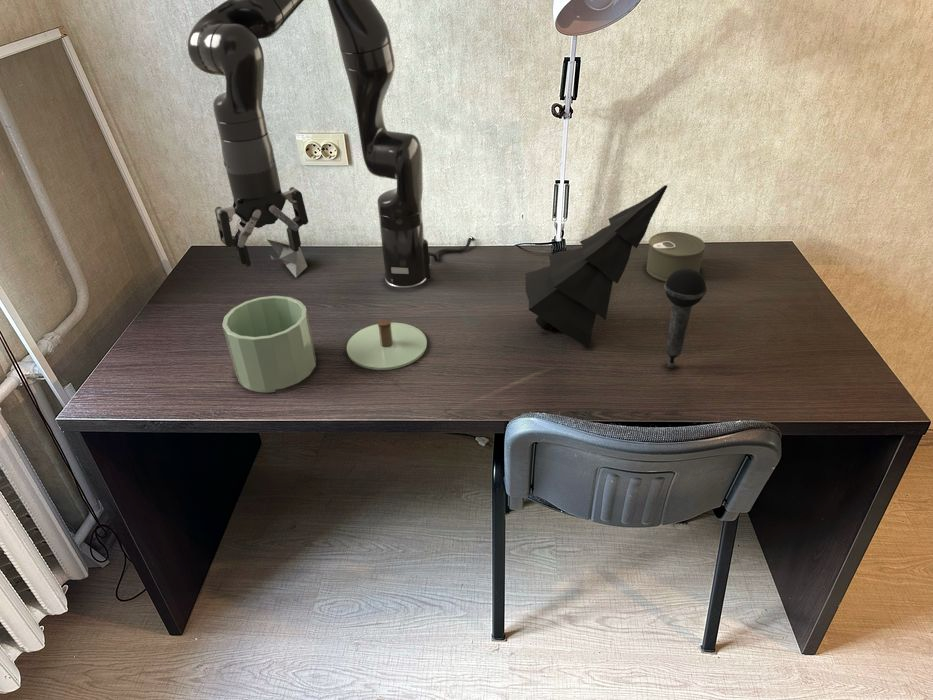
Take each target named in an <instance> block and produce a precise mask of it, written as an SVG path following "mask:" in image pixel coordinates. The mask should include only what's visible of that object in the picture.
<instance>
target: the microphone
mask: <svg viewBox="0 0 933 700" xmlns="http://www.w3.org/2000/svg"><path fill="white" fill-rule="evenodd" d="M663 288H664V292H665V295H666V297H667V300H668V301H670V302H671V303H672V305H671V310H670V318H669V326H668V333H667V341H666V347H665V353H666V354H667V355H668V357H669V361H668V362H667V365H666V366H667V368H668V369H674V368H675V367H676V363H675V358H678V357H679V356H681V354H682V351H683V346H684V341H685V337H686V335H687V334H686V333H687V329H688V324H689V320H690V318H691V317H690V316H691V311H692V308H693V307H694V306H695V305H697V304H698V303H700V302H701V300H703V298H704V296H705V295H706V293H707V292H708V291H707V284H706V281H705V278H704V276H703V275H702V274H701V273H700V272H697V271H696V270H693V269H689V268H682V269H679V270H676V271H675V272H673V273H672V274H671V275H670V276H669V277H668V279H667V281H664V285H663Z"/></svg>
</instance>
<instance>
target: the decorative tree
mask: <svg viewBox="0 0 933 700" xmlns="http://www.w3.org/2000/svg"><path fill="white" fill-rule="evenodd" d="M667 188H668V185H667V184H665V185H663V186H662V187H660V188H659V189H658V190H656V191H655V192H654V193H653V194H651V195H650V196H648V197H647V198H644V199H643V200H641V201H639V202H638V203H636V204H634V205H632V206H629V207H628V208H625V209H623V210H621V211H619V212H618V213H616V214H614V215H613V216H611V217H610V218H608V222H609V225H607V226H605V227H603V228H601V229H599V230H598V231H597V232H595V233H594V234H592V235H591V236H588V237H587V238H584V239H582V240H580V241H579V243H580V245H581V247H578V248H573V249H567V250H560V251H557V252H555V253H552V254H550V255H548V258H549V265H550V266H544V267H541V268H539V269H536V270H532V271H528V272H525V294H526V297H527V300H528V311H530V312H531V313H532V314H534V315H536V316H537V317H536V318H535V322H536V324H537V325H538V327H540V328H541V329H542V330H544V331H547V332H549V331H551V330H552V329H553V328H555V329H557V330H558V331H560V332H562V333H563V334H564V335H566V336H568V337H569V338H570V339H573V340H574V341H576V342H577V343H578V344H580V345H582V346H584V347H586V348H588V349H590V344H591V337H592V333H593V328H594V324H595V322H596V317H597V316H599V317H600V318H601V319H603V320H604V321H606V320H607V314H608V310H609V303H610V299H611V294H612V290H613V289H612V288H613V283H615V284H618V283H619V282H620V280H621V278H622V276H623V274H624V272H625V271H626V268H627V265H628V262H629V260H630V257H631V253H632V248H635V249H637V248H638V247H639V245H640V243H641V242H642V240H643V238H644V236H645V235H646V233H647V230H648V227H649V225H650V223H651V220H652V217H654V214H655V212H656V210H657V208H658V206H659V204H660V202H661V200H662V198H663V196H664V194H665V193H666V191H667Z"/></svg>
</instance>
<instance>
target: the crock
mask: <svg viewBox="0 0 933 700" xmlns="http://www.w3.org/2000/svg"><path fill="white" fill-rule="evenodd" d="M221 324H222V325H221V327H222V330H223V334H224V336H225V341H226V345H227V348H228V351H229V355H230V358H231V363H232V366H233V370H234V373H235V376H236V379H237V380H238V382H239V384H240V385H241V386H242V387H243V388H245V389H247V390H249V391H252V392H255V393H263V394H264V393H265V394H266V393H268V394H269V393H276V392H277V391H276V390H283V389H286V388H288V387H291V386H294V385H297V384H299V383H300V382H301V381H303V380H304V379H306V378H307V377H309V376H310V375H311V374H312V372H313V370H314V369H315V368H316V366H317V356H316V352H315V345H314V339H313V335H312V330H311V325H310V319H309V313H308V310H307V307H306V306H305V304H304V303H303V302H302V301H301V300H299V299H296V298H294V297H291V296H282V295H269V296H260V297H256V298H253V299H249V300H246V301H244V302H241V303H240V304H239V305H237V306H235V307H232V308H231V309H230V310H229V311H228V312H227V313H226V315H225V316H224V317H223V321H222V323H221Z"/></svg>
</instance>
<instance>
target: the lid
mask: <svg viewBox="0 0 933 700" xmlns="http://www.w3.org/2000/svg"><path fill="white" fill-rule="evenodd" d="M427 347H428V340H427V336H426V335H425V333H424V332H423V331H422V330H420V329H419V328H417V327H416V326H413V325H410V324H408V323H403V322H392V321H391V319H388V318H382V319H379V320H378V321H377V324H372V325H369V326H367V327H363V328H362V329H360V330H358V331H357V332H356V333H354V334H353V335H352V336H351V337H350V338H349V340H348V341H347V344H346V354H347V356H348V358H349V360H350V361H352V363H354V364H355V365H357V366H359V367H361V368H364V369H368V370H373V371H390V370H396V369H401V368H403V367H406V366H409V365H411V364H413V363H415V362H416V361H418V360H419V359H420V358H421V357H422V356H424V354H425V353H426V350H427Z"/></svg>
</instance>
